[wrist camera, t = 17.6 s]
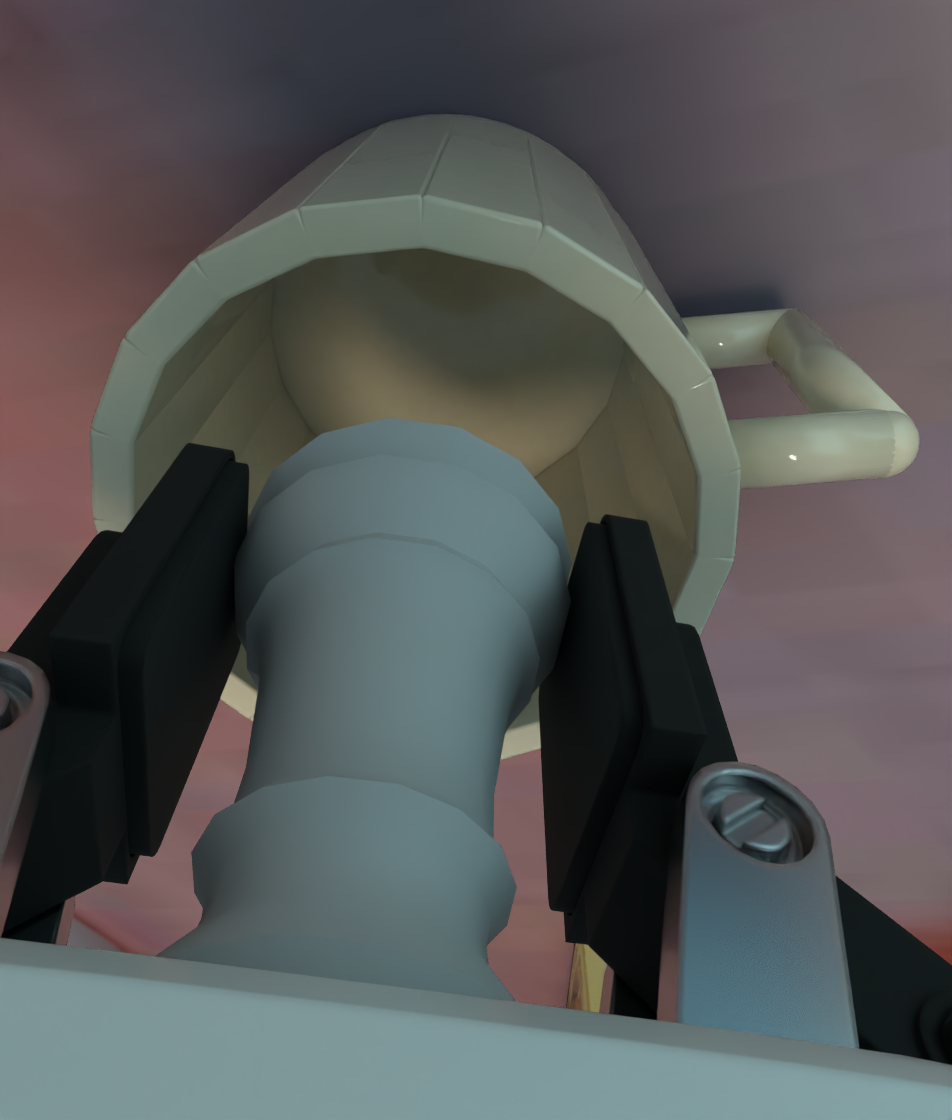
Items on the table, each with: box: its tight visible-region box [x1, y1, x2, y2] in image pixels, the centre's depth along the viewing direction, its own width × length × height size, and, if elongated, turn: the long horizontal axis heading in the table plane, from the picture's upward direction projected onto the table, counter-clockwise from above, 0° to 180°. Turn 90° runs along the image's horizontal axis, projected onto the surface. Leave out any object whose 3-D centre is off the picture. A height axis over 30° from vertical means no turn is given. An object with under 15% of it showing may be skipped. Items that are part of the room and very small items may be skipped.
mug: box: [90, 114, 920, 760], centre depth 16 cm, size 12×9×10 cm
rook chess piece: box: [155, 418, 572, 1002], centre depth 9 cm, size 4×4×8 cm
